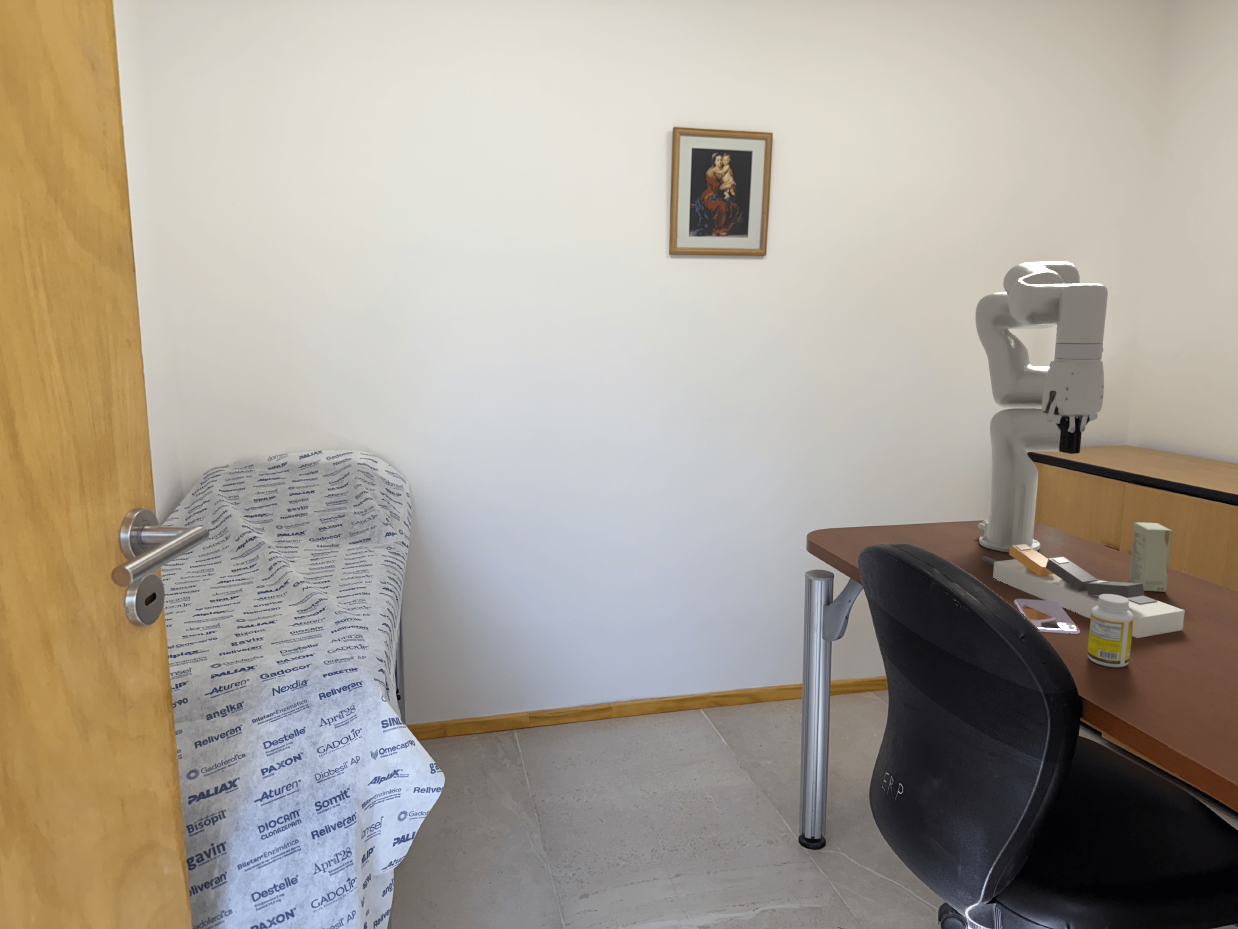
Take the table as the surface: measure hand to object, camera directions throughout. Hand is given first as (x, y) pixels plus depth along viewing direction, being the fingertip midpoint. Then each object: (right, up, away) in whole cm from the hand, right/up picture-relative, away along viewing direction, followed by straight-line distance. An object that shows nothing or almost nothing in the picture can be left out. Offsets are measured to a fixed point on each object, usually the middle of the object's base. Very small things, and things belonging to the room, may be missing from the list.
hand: (1069, 452), depth 148 cm
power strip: (0, -27, +3) cm, 27 cm away
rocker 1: (-4, -21, +6) cm, 22 cm away
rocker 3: (+2, -24, -11) cm, 26 cm away
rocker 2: (-1, -22, -3) cm, 22 cm away
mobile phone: (-8, -30, -7) cm, 32 cm away
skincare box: (+19, -26, +7) cm, 33 cm away
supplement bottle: (-9, -33, -26) cm, 42 cm away
